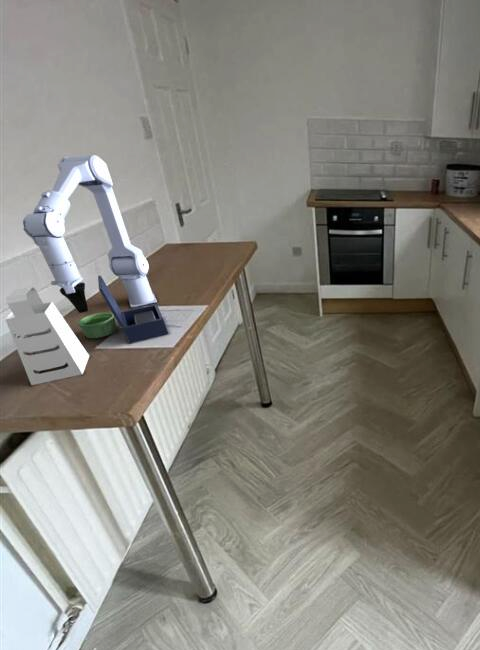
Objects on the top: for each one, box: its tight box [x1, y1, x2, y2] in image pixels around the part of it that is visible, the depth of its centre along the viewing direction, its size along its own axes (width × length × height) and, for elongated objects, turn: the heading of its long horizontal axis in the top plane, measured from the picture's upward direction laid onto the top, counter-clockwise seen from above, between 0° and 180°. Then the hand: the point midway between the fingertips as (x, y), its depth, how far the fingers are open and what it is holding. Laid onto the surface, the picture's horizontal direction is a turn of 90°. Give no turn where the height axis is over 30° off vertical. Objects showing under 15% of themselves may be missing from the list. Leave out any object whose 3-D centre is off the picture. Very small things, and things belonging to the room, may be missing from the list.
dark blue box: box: [121, 303, 169, 344], centre depth 120 cm, size 10×14×5 cm
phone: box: [134, 311, 156, 324], centre depth 121 cm, size 10×5×3 cm, turn 31°
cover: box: [97, 274, 124, 328], centre depth 114 cm, size 11×14×1 cm
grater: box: [4, 286, 90, 386], centre depth 98 cm, size 10×10×20 cm
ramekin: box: [77, 312, 118, 339], centre depth 120 cm, size 9×9×4 cm
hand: (83, 311), depth 116 cm, fingers closed
